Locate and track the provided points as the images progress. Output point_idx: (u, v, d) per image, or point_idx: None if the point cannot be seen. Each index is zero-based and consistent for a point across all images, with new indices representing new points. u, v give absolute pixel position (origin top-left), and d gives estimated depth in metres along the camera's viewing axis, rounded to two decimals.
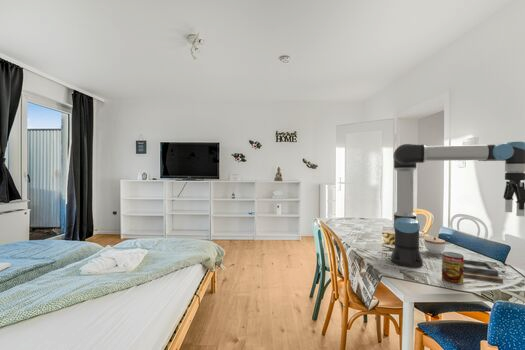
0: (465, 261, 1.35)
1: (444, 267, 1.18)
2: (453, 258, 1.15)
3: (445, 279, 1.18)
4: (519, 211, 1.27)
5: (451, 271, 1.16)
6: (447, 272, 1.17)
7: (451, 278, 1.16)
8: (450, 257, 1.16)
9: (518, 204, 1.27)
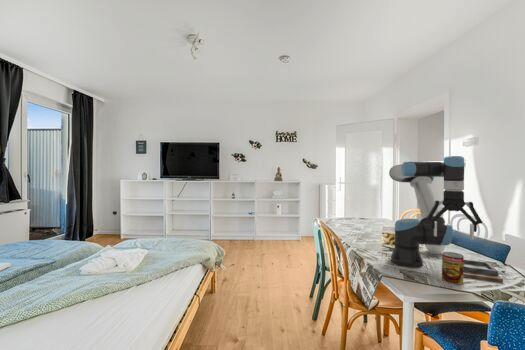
0: (465, 261, 1.35)
1: (444, 267, 1.18)
2: (453, 258, 1.15)
3: (445, 279, 1.18)
4: (434, 230, 1.22)
5: (451, 271, 1.16)
6: (447, 272, 1.17)
7: (451, 278, 1.16)
8: (450, 257, 1.16)
9: None
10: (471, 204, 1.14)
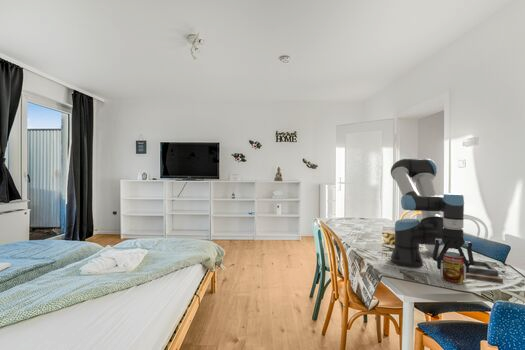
0: None
1: (444, 267, 1.18)
2: (453, 258, 1.15)
3: (445, 279, 1.18)
4: (440, 270, 1.21)
5: (451, 271, 1.16)
6: (447, 272, 1.17)
7: (451, 278, 1.16)
8: (450, 257, 1.16)
9: None
10: (470, 245, 1.15)
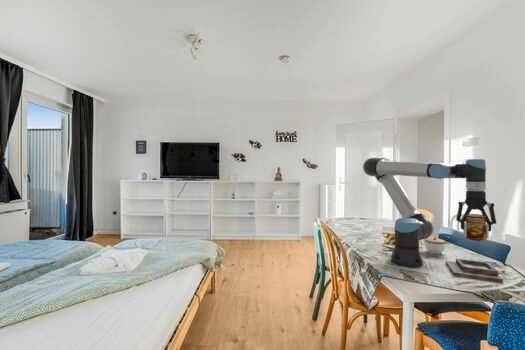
0: (465, 261, 1.35)
1: (468, 227, 1.28)
2: (476, 217, 1.25)
3: (469, 238, 1.27)
4: (463, 231, 1.31)
5: (474, 230, 1.25)
6: (471, 230, 1.26)
7: (474, 236, 1.25)
8: (473, 217, 1.25)
9: None
10: (492, 205, 1.24)
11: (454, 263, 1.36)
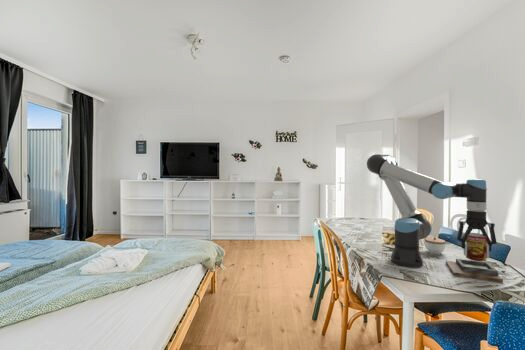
0: (465, 261, 1.35)
1: (468, 246, 1.29)
2: (477, 237, 1.26)
3: (469, 257, 1.28)
4: (464, 250, 1.32)
5: (475, 250, 1.26)
6: (472, 250, 1.27)
7: (475, 256, 1.26)
8: (474, 237, 1.26)
9: None
10: (492, 225, 1.25)
11: (454, 263, 1.36)
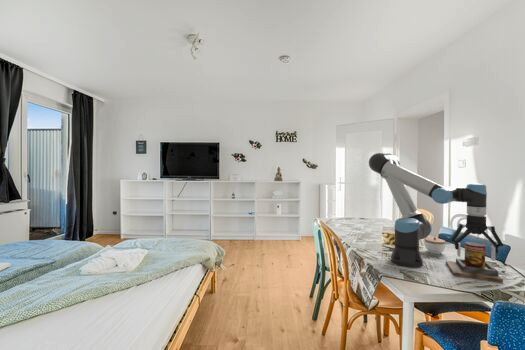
0: None
1: (467, 255, 1.29)
2: (476, 247, 1.26)
3: (468, 266, 1.28)
4: (457, 251, 1.33)
5: (474, 259, 1.27)
6: (470, 259, 1.28)
7: (474, 265, 1.27)
8: (473, 246, 1.27)
9: None
10: (493, 228, 1.25)
11: (454, 263, 1.36)
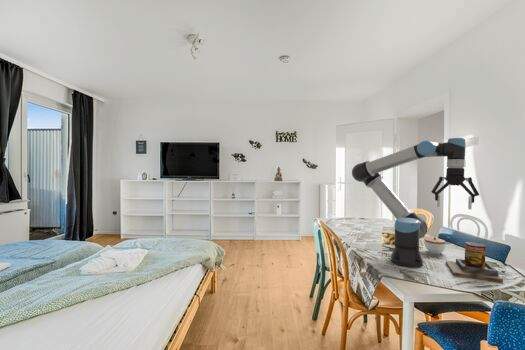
0: None
1: (467, 255, 1.29)
2: (476, 247, 1.26)
3: (468, 266, 1.28)
4: (437, 202, 1.41)
5: (474, 259, 1.26)
6: (470, 259, 1.27)
7: (474, 266, 1.26)
8: (473, 246, 1.27)
9: None
10: (470, 179, 1.33)
11: (454, 263, 1.36)
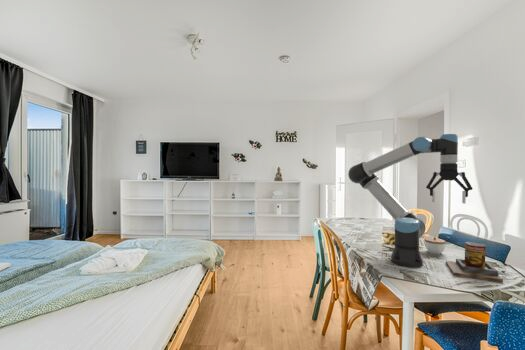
0: None
1: (467, 255, 1.29)
2: (476, 247, 1.26)
3: (468, 266, 1.28)
4: (432, 197, 1.44)
5: (474, 259, 1.26)
6: (470, 259, 1.28)
7: (474, 266, 1.26)
8: (473, 246, 1.27)
9: None
10: (463, 174, 1.36)
11: (454, 263, 1.36)
